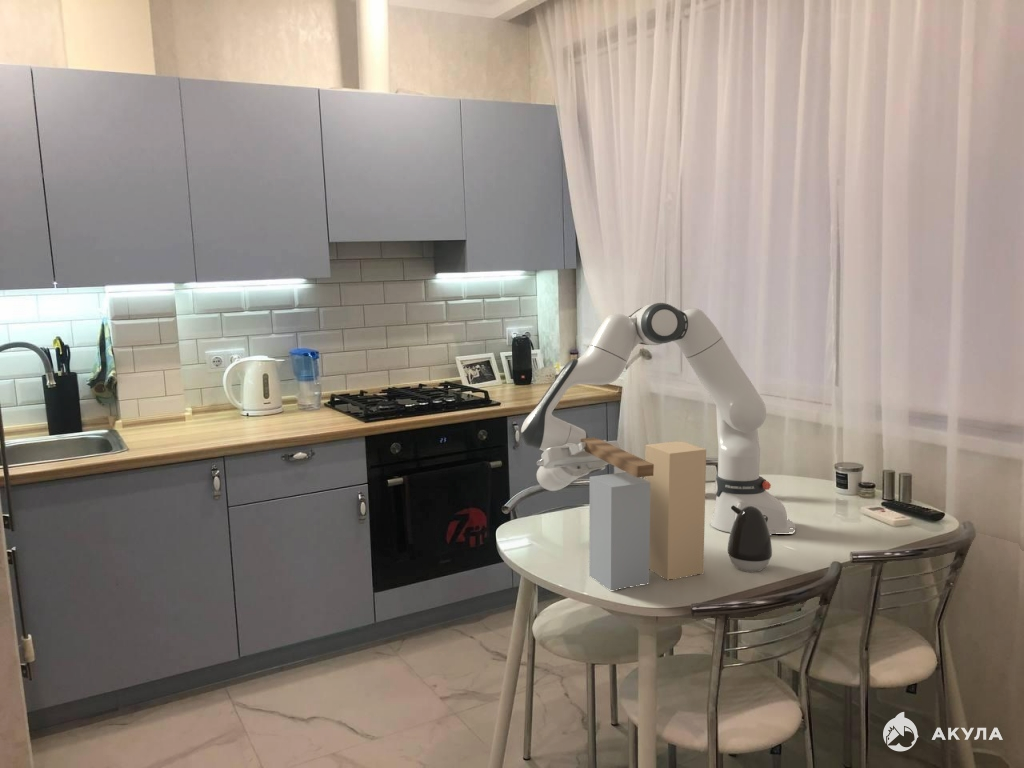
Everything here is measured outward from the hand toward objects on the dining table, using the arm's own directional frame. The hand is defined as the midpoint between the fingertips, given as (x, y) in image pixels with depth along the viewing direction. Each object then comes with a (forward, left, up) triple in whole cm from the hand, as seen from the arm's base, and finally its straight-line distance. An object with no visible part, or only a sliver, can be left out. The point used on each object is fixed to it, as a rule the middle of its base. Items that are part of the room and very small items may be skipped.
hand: (594, 444), depth 195 cm
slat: (-5, +8, -2) cm, 10 cm away
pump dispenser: (-37, 0, -30) cm, 48 cm away
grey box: (-6, +10, -30) cm, 32 cm away
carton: (-19, +3, -30) cm, 35 cm away
